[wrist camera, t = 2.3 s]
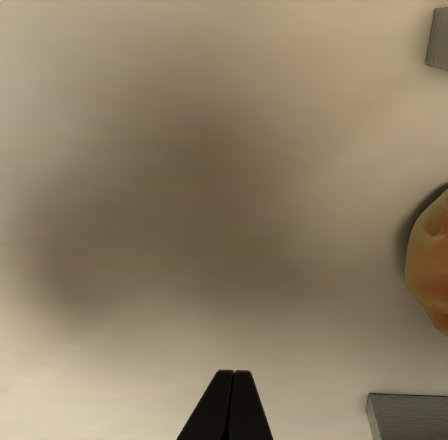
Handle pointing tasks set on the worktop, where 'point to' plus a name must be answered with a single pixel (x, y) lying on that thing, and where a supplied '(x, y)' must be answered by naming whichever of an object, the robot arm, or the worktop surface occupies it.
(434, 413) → the rail pocket
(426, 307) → the pastry
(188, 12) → the worktop surface
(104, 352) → the worktop surface
